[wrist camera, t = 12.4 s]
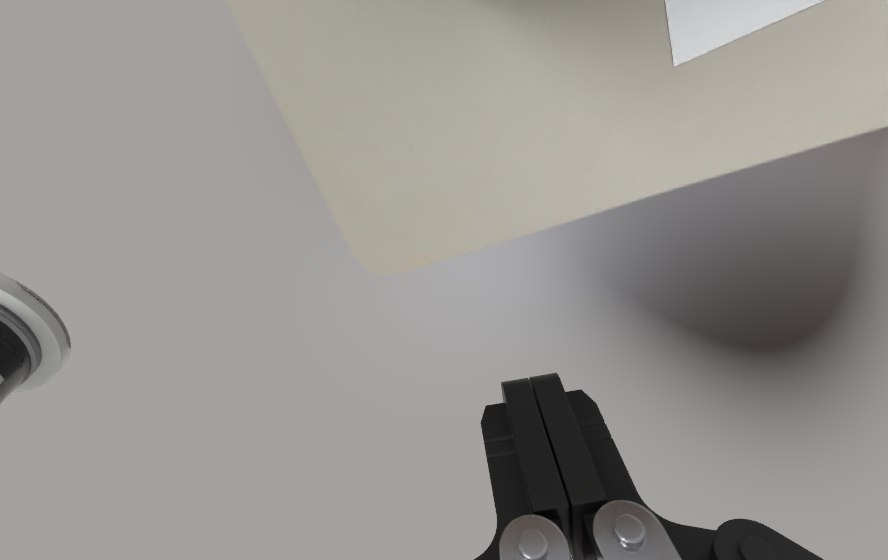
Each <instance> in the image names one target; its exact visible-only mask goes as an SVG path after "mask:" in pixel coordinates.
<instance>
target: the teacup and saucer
mask: <svg viewBox="0 0 888 560" xmlns="http://www.w3.org/2000/svg"><path fill="white" fill-rule="evenodd" d="M822 1H824V0H665V4H666V11H667V19H668V26H669V33H670V41H671V48H672V55H673V63H674V67H675V66H677V65H679V64H682V63H684V62H686V61H688V60H691V59H693V58H695V57H697V56H700V55H702V54H704V53H706V52H709V51H711V50H713V49H715V48H718V47H720V46H722V45H725V44H727V43H729V42H731V41H734V40H736V39H738V38H740V37H743V36H745V35H747V34H749V33H752V32H754V31H756V30H758V29H761V28H763V27H765V26H768V25H770V24H772V23H774V22H777V21H779V20H781V19H783V18H786V17H788V16H790V15H792V14H795V13H797V12H799V11H801V10H804V9H806V8H808V7H810V6H813V5H815V4H817V3H820V2H822Z"/></svg>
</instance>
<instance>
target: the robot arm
mask: <svg viewBox="0 0 888 560" xmlns="http://www.w3.org/2000/svg"><path fill="white" fill-rule="evenodd" d="M41 359H42V351H41V347H40V344H39V341H38V339H37V337H36V336H35V334H34V333H33V331H32V330H31V329H30V328H29V326H28V325H27V324H26V323H25V322H24V321H23V320H22V319H20V318H19V317H18V316H17V315H16V314H14V313H13V312H12V311H10V310H9V309H7V308H6V307H4V306H2V305H1V304H0V404H1V403H2V402H3V401H4V400H5V399H6V398H7V397H8V396H9V395H10V394H11V393H12V392H13V391H14V390H15V389H16V388H17V387H18V386H19V385H21V384H22V383H24V382H25V381H26V380H27V379H28V378H29V377H30V376H31V375H32V374H33V373H34V372H35V371H36V370H37V368H38V367H39V365H40V363H41ZM501 386H502V394H503V401H504V403H499V404H493V405H487V406H486V407H485V410H484V414H483V417H482V420H481V427H482V433H483V439H484V444H485V450H486V456H487V462H488V467H489V473H490V479H491V485H492V491H493V496H494V502H495V508H496V514H497V529H496V534H495V536H494V539H493V541H492V543H491V544H490V546H489V547H488V549H487V550H486V551H485V552H484V553H483V554H481V555H480V556H479V557H477V558H476V559H474V560H572V559H573V560H823V559H822V558H820V557H818V556H817V555H815V554H813V553H812V552H809V551H808V550H806V549H805V548H803V547H801V546H800V545H798V544H796V543H795V542H793V541H791V540H790V539H788V538H786V537H784V536H783V535H781V534H779V533H778V532H776V531H774V530H773V529H771V528H769V527H767V526H765V525H763V524H761V523H758V522H756V521H752V520H747V519H733V520H729V521H726V522H724V523H723V524H722V525H720V526H719V527H718V529H717V530H709V529H703V528H698V527H692V526H685V525H681V524H676V523H674V522H671V521H668V520H666V519H664V518H662V517H661V516H659V515H657V514H656V513H655V512H653V511H652V510H651V509H650V508H649V507H648V506H647V505H646V504H645V503H644V502H643V500H642V499H641V498H640V496H639V494H638V492H637V490H636V488H635V486H634V484H633V482H632V479H631V477H630V475H629V473H628V471H627V469H626V467H625V465H624V462H623V460H622V458H621V456H620V454H619V451H618V449H617V447H616V445H615V443H614V441H613V439H612V438H611V434H610V432H609V430H608V428H607V426H606V424H605V423H604V419H603V417H602V415H601V413H600V411H599V408H598V406H597V404H596V403H595V402H594V401H593V400H592V399H591V398H590V397H589V396H588V395H587V394H586V393H584V392H583V391H582V390H576V391H569V392H565V390H564V388H563V385H562V383H561V380H560V378H559V376H558V374H557V373H553V374H547V375H541V376H535V377H530V378H529V380H528V378H524V379H519V380H513V381H507V382H501ZM570 554H571V555H572V558H571V555H570Z"/></svg>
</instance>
